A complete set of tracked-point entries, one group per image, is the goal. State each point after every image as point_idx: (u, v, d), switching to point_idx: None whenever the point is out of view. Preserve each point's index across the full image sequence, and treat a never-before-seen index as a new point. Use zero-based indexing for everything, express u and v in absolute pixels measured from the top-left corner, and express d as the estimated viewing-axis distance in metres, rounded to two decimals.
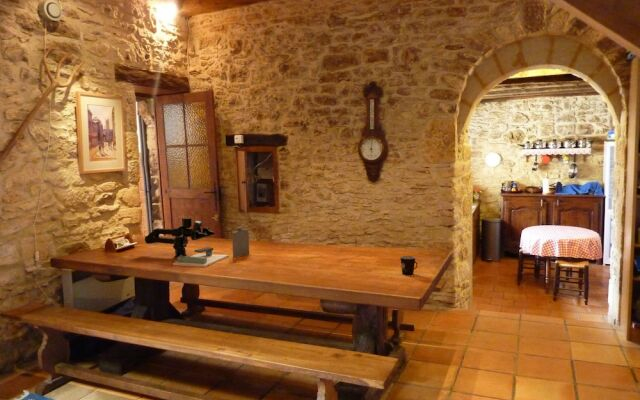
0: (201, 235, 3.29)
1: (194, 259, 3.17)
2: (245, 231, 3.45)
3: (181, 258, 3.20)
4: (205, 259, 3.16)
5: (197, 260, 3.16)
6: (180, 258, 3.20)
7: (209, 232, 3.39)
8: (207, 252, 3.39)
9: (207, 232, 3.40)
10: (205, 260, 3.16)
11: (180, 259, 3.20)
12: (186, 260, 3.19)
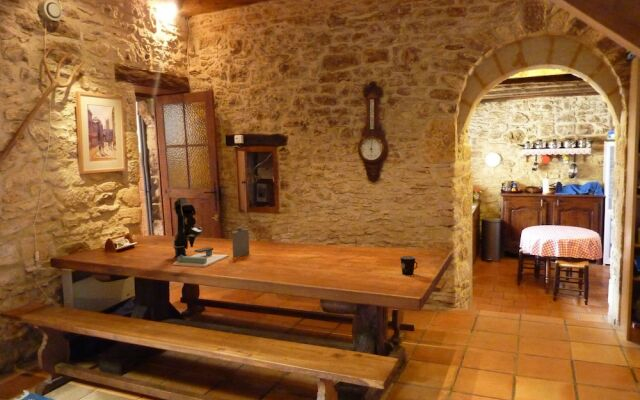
0: (185, 243, 3.07)
1: (194, 259, 3.17)
2: (245, 231, 3.45)
3: (181, 258, 3.20)
4: (205, 259, 3.16)
5: (197, 260, 3.16)
6: (180, 258, 3.20)
7: (192, 240, 3.14)
8: (207, 252, 3.39)
9: (191, 238, 3.14)
10: (205, 260, 3.16)
11: (180, 259, 3.20)
12: (186, 260, 3.19)
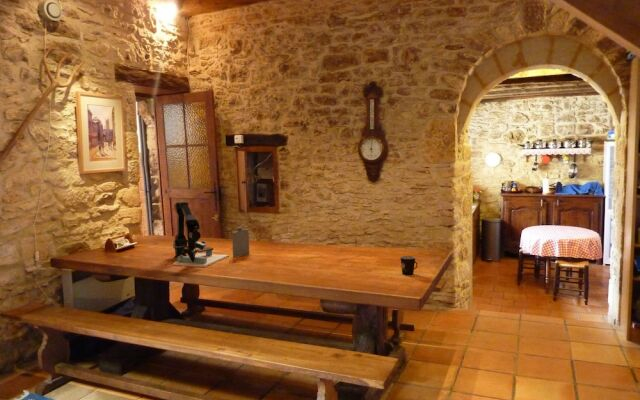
0: (191, 256, 3.14)
1: (194, 259, 3.17)
2: (245, 231, 3.45)
3: (181, 258, 3.20)
4: (205, 259, 3.16)
5: (198, 260, 3.16)
6: (180, 258, 3.20)
7: None
8: (207, 252, 3.39)
9: (193, 252, 3.16)
10: (205, 260, 3.16)
11: (180, 259, 3.20)
12: (186, 260, 3.19)
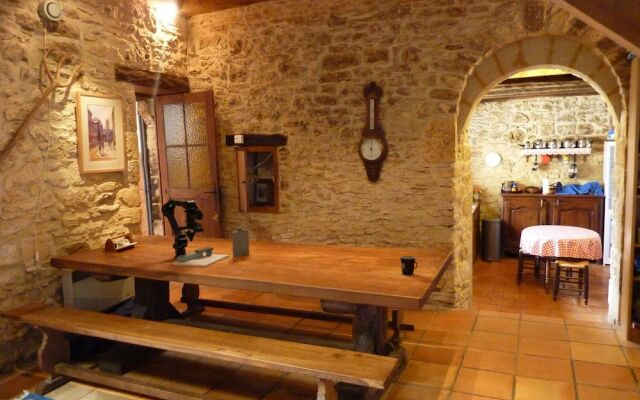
0: (192, 236, 3.33)
1: (195, 255, 3.30)
2: (245, 231, 3.45)
3: (184, 257, 3.22)
4: None
5: (198, 255, 3.32)
6: (184, 257, 3.21)
7: None
8: (207, 252, 3.39)
9: None
10: None
11: (184, 258, 3.21)
12: (188, 258, 3.25)
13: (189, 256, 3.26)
